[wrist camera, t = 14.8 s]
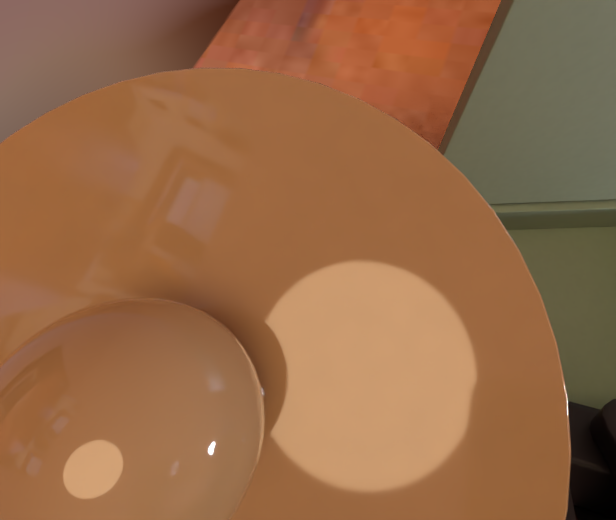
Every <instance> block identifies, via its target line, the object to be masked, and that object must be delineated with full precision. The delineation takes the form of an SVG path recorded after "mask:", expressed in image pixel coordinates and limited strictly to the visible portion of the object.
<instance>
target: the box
mask: <svg viewBox="0 0 616 520" xmlns="http://www.w3.org/2000/svg"><path fill="white" fill-rule="evenodd" d="M489 205H490V206H491V208H492V209H493V210H494V212H495V213H496V215H497V216H498V218H499V219H500V221H501V222H502V224H503V226H504V227H505V229H506V230H507V232H508V233H509V235H510V236H511V238H512V240H513V241H514V243H515V244H516V246H517V247H518V249H519V250H520V252H521V255H522V257H523V259H524V261H525V263H526V265H527V267H528V269H529V271H530V273H531V275H532V278H533V280H534V282H535V284H536V286H537V288H538V290H539V292H540V294H541V297H542V300H543V303H544V306H545V309H546V312H547V315H548V318H549V321H550V324H551V327H552V330H553V333H554V336H555V339H556V342H557V346H558V351H559V356H560V361H561V366H562V371H563V376H564V381H565V386H566V391H567V396H568V401H570V402H574V403H578V404H581V405H585V406H589V407H593V408H597V409H600V410H601V409H602V408H603V406H604V405H605V404H607V403H608V402H610V401H611V400H613V399H616V199H609V200H582V201H555V202H529V203H502V204H489Z"/></svg>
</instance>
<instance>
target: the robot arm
mask: <svg viewBox="0 0 616 520" xmlns="http://www.w3.org/2000/svg"><path fill="white" fill-rule="evenodd" d="M568 410H569V425H570V440H571V465H570V482H569V499H568V511H567V516H566V520H616V399H613V400H611V401H610V402H608V403H607V404H605V405H604V406H603V408H602V409H601V410H600V409H597V408H593V407H589V406H585V405H581V404H578V403H574V402H570V401H568Z"/></svg>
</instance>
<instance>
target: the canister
mask: <svg viewBox="0 0 616 520" xmlns="http://www.w3.org/2000/svg"><path fill="white" fill-rule="evenodd" d="M570 465H571V440H570V425H569V410H568V396H567V391H566V386H565V381H564V376H563V371H562V366H561V361H560V356H559V351H558V346H557V342H556V339H555V336H554V333H553V330H552V327H551V324H550V321H549V318H548V315H547V312H546V309H545V306H544V303H543V300H542V297H541V294H540V292H539V290H538V288H537V286H536V284H535V282H534V280H533V278H532V275H531V273H530V271H529V269H528V267H527V265H526V263H525V261H524V259H523V257H522V255H521V252H520V250H519V249H518V247H517V246H516V244H515V243H514V241H513V240H512V238H511V236H510V235H509V233H508V232H507V230H506V229H505V227H504V226H503V224H502V222H501V221H500V219H499V218H498V216H497V215H496V213H495V212H494V210H493V209H492V208H491V206H490V205H489V204H488V203H487V202H486V200H485V199H484V198H483V197H482V196H481V194H480V193H479V192H478V191H477V190H476V189H475V187H474V186H473V185H472V184H471V183H470V181H469V180H468V179H467V178H466V177H465V175H464V174H463V173H462V172H460V171H459V170H458V169H457V168H456V167H455V166H454V165H453V164H452V163H451V162H450V161H449V160H448V159H446V158H445V157H444V156H443V155H442V154H441V153H440V152H439V151H438V150H437V149H436V148H435V147H434V146H432V145H431V144H430V143H429V142H427V141H426V140H425V139H423V138H422V137H420V136H419V135H418V134H416V133H415V132H413V131H412V130H411V129H409V128H408V127H406V126H405V125H404V124H402V123H401V122H399V121H398V120H397V119H395V118H393V117H391V116H390V115H388V114H386V113H384V112H382V111H380V110H379V109H377V108H375V107H373V106H371V105H369V104H368V103H366V102H364V101H362V100H360V99H358V98H356V97H353V96H351V95H348V94H346V93H343V92H340V91H338V90H335V89H333V88H330V87H328V86H325V85H323V84H320V83H316V82H312V81H309V80H305V79H301V78H297V77H293V76H289V75H285V74H281V73H274V72H267V71H259V70H251V69H243V68H194V69H185V70H176V71H167V72H159V73H155V74H150V75H146V76H142V77H137V78H133V79H129V80H124V81H120V82H117V83H115V84H112V85H109V86H106V87H103V88H101V89H98V90H95V91H92V92H89V93H86V94H84V95H81V96H79V97H77V98H75V99H73V100H71V101H69V102H67V103H65V104H63V105H61V106H59V107H57V108H55V109H53V110H51V111H49V112H46V113H45V114H43V115H42V116H40V117H38V118H37V119H35V120H34V121H32V122H31V123H29V124H27V125H26V126H24V127H23V128H21V129H19V130H18V131H16V132H15V133H13V134H12V135H10V136H9V137H8V138H6V139H5V140H4V141H3V142H1V143H0V520H566V516H567V511H568V499H569V482H570Z"/></svg>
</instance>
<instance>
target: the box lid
mask: <svg viewBox="0 0 616 520" xmlns="http://www.w3.org/2000/svg"><path fill="white" fill-rule="evenodd" d="M438 151H439V152H440V153H441V154H442V155H443V156H444V157H445V158H446V159H448V160H449V161H450V162H451V163H452V164H453V165H454V166H455V167H456V168H457V169H458V170H459V171H460V172H462V173H463V174H464V175H465V177H466V178H467V179H468V180H469V181H470V183H471V184H472V185H473V186H474V187H475V189H476V190H477V191H478V192H479V193H480V194H481V196H482V197H483V198H484V199H485V200H486V202H487V203H488V204H502V203H529V202H555V201H582V200H609V199H616V0H501V3H500V5H499V7H498V10H497V12H496V14H495V17H494V19H493V21H492V24H491V26H490V28H489V31H488V33H487V36H486V38H485V40H484V43H483V45H482V47H481V50H480V52H479V54H478V57H477V59H476V61H475V64H474V66H473V69H472V71H471V73H470V76H469V78H468V80H467V83H466V85H465V87H464V90H463V92H462V94H461V97H460V99H459V102H458V104H457V106H456V109H455V111H454V113H453V116H452V118H451V120H450V123H449V125H448V127H447V130H446V132H445V135H444V137H443V139H442V142H441V144H440V146H439V149H438Z"/></svg>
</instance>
